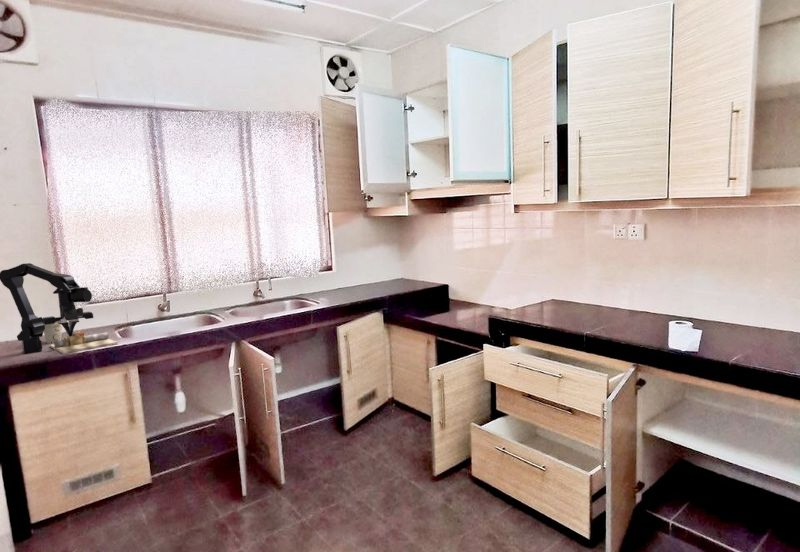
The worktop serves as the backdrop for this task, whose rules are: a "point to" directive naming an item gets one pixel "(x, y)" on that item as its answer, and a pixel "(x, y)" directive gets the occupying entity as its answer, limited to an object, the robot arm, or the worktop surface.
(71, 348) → the valve board
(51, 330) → the mug
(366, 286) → the worktop surface
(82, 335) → the valve lever
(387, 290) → the worktop surface
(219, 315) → the worktop surface
